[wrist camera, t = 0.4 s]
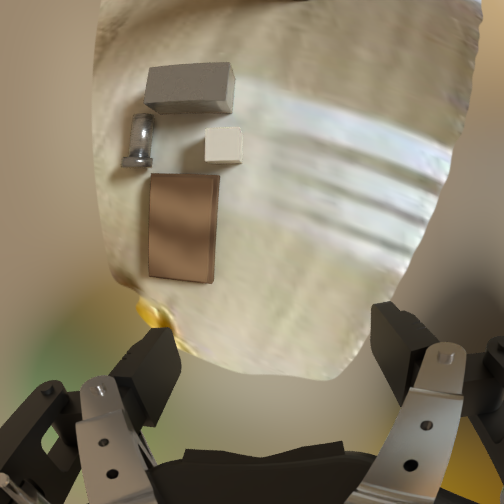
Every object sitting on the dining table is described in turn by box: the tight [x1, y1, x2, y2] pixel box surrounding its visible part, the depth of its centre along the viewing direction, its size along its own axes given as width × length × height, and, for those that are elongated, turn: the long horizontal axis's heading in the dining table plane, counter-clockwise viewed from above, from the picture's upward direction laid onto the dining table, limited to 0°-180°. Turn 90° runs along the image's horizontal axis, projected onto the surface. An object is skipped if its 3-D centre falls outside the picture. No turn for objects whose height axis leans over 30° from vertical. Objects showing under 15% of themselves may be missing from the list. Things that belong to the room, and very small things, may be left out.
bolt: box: [121, 114, 155, 168], centre depth 33 cm, size 7×4×4 cm, turn 176°
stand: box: [149, 173, 220, 284], centre depth 36 cm, size 14×9×2 cm, turn 176°
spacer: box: [205, 127, 243, 164], centre depth 33 cm, size 4×4×4 cm
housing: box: [144, 62, 236, 114], centre depth 31 cm, size 5×10×6 cm, turn 86°
